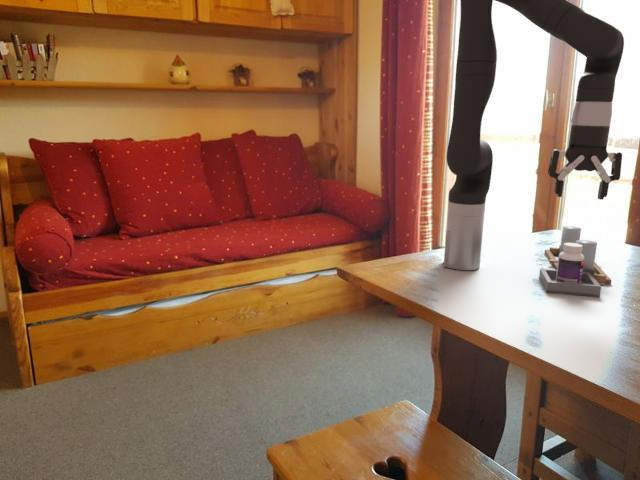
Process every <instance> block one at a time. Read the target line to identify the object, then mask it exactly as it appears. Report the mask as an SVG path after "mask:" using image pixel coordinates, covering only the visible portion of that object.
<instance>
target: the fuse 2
mask: <svg viewBox="0 0 640 480" xmlns="http://www.w3.org/2000/svg"><path fill="white" fill-rule="evenodd" d="M576 243H577V244H581V245H582V246H583V248H582V252H581V254H582V255H583V256H584V266H583V269H593V268H594V262H595V261H596V255H597V248H598V247H597V246H598V245H597V244H598V243H597V242H596V241H593V240H589V239H580V240H577V241H576ZM595 263H596V262H595Z"/></svg>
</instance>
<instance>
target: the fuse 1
mask: <svg viewBox="0 0 640 480" xmlns="http://www.w3.org/2000/svg"><path fill="white" fill-rule="evenodd" d="M581 233H582V227H579V226H573V225H563V226H562V230H561V238H560V245H559V246H560V253H561V252H564V250H563V245H564V243H576V241H577V240H581ZM560 253H559V254H560Z"/></svg>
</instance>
